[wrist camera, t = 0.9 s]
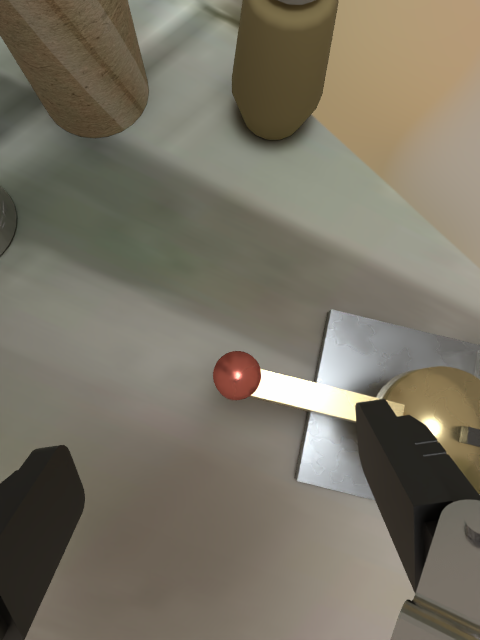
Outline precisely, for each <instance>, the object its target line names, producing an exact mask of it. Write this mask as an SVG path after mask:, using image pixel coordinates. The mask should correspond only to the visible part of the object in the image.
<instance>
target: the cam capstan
mask: <svg viewBox="0 0 480 640" xmlns="http://www.w3.org/2000/svg"><path fill="white" fill-rule="evenodd" d="M213 379H214V383H215V386H216V388H217V389H218V391H219V392H220V393H221V395H222V396H224V397H225V398H227V399H230V400H240V399H245V398H247V397H252V398H256V399H260V400H264V401H268V402H272V403H276V404H280V405H284V406H288V407H292V408H296V409H300V410H305V411H309V412H313V413H317V414H321V415H325V416H329V417H333V418H337V419H341V420H345V421H349V422H353V423H356V412H355V405H356V403H358V402H365V401H372V400H378V399H385V400H386V401H387V402H388V404H389V405H390V407H391V408H392V410H393V411H394V413H395V414H396V416H404V415H411V416H412V417H414V418H416V419H417V420H419V421H420V422H422V423H424V424H425V425H427V427H428V428H429V429H430V431H431V432H432V433H433V435H434V436H435V437H436V438H437V441H438V442H440V444H441V445H442V446H443V448H444V449H445V450H446V453H447V454H449V456H450V457H451V458H452V460H453V461H454V462H455V463H456V465H457V466H458V467H459V469H460V470H461V471H462V473H463V474H464V475H465V477H466V478H467V479H468V481H469V482H470V483H471V485H472V486H473V487H474V488H475V490H476V491H477V492H478V494H480V379H479V378H477V377H475V376H474V375H472V374H470V373H468V372H466V371H463V370H460V369H457V368H453V367H445V366H436V367H428V368H422V369H417V370H412V371H407V372H404V373H402V374H399V375H397V376H396V377H394V378H392V379H391V380H390V381H389V382H387V383H386V384H385V385H384V386H383V387H382V389H381V390H380V391H379V393H378V395H377V396H376V398H375V397H371V396H367V395H363V394H359V393H355V392H351V391H347V390H343V389H339V388H335V387H331V386H327V385H322V384H318V383H314V382H310V381H306V380H302V379H298V378H294V377H290V376H286V375H282V374H278V373H274V372H270V371H265V370H261V369H260V366H259V364H258V362H257V361H256V360H255V359H254V358H253V357H252V356H251V355H249V354H248V353H245V352H241V351H233V352H229V353H227V354H225V355H224V356H222V357H221V358H220V359H219V360H218V362H217V363H216V365H215V368H214V372H213Z"/></svg>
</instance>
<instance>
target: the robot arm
mask: <svg viewBox="0 0 480 640" xmlns="http://www.w3.org/2000/svg"><path fill="white" fill-rule="evenodd" d="M16 218H17V215H16V210H15V205H14V203H13V201H12V199H11V197H10V196H9V195H8V193H7V192H6V191H5V190H4V189H3V188H2V187H1V186H0V255H1V254H2V253H3V252H4V250H5V249H6V248H7V247H8V245H9V243H10V242H11V240H12V238H13V236H14V232H15V228H16ZM355 412H356V425H357V438H358V451H359V457H360V462H361V466H362V469H363V472H364V475H365V477H366V480H367V482H368V484H369V487H370V489H371V491H372V494H373V496H374V498H375V501H376V503H377V506H378V508H379V510H380V513H381V515H382V517H383V520H384V522H385V524H386V527H387V529H388V531H389V534H390V536H391V538H392V541H393V543H394V545H395V548H396V550H397V552H398V555H399V557H400V559H401V562H402V564H403V566H404V569H405V571H406V573H407V576H408V578H409V580H410V583H411V585H412V587H413V590H414V592H415V596H414V598H413V600H412V601H410V600H406V601H405V603H404V604H403V606H402V609H401V611H400V614H399V616H398V619H397V622H396V625H395V628H394V631H393V634H392V637H391V640H480V495H479V494H478V492H477V491H476V490H475V488H474V487H473V486H472V485H471V483H470V482H469V481H468V479H467V478H466V477H465V475H464V474H463V473H462V471H461V470H460V469H459V467H458V466H457V465H456V463H455V462H454V461H453V460H452V458H451V457H450V456H449V454H447V453H446V450H445V449H444V448H443V446H442V445H441V444H440V442H438V441H437V438H436V437H435V436H434V435H433V433H432V432H431V431H430V429H429V428H428V427H427V425H425V424H424V423H422V422H420V421H419V420H417V419H416V418H414V417H412V416H411V415H404V416H396V414H395V413H394V411H393V410H392V408H391V407H390V405H389V404H388V402H387V401H386V400H385V399H378V400H372V401H365V402H358V403H356V405H355ZM84 502H85V494H84V489H83V486H82V483H81V480H80V478H79V475H78V472H77V470H76V467H75V464H74V462H73V459H72V457H71V454H70V451H69V449H68V448H67V447H66V446H65V445H59V446H52V447H45V448H39V449H35V450H34V451H32V453H31V454H30V455H29V457H28V458H27V459H26V461H25V462H24V463H23V465H22V466H21V467H20V469H19V470H16V471H15V472H14V473H13V474H11V475H10V476H9V477H8V478H7V479H5V480H4V481H3V482H2V483H1V484H0V640H24V639H25V637H26V635H27V633H28V631H29V628H30V626H31V624H32V622H33V620H34V617H35V615H36V613H37V611H38V609H39V606H40V604H41V602H42V600H43V598H44V595H45V593H46V591H47V589H48V587H49V584H50V582H51V580H52V578H53V576H54V573H55V571H56V569H57V567H58V565H59V563H60V560H61V558H62V556H63V554H64V552H65V549H66V547H67V545H68V543H69V541H70V538H71V536H72V534H73V532H74V530H75V527H76V525H77V523H78V521H79V519H80V516H81V514H82V512H83V508H84Z"/></svg>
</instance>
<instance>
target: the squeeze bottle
mask: <svg viewBox="0 0 480 640" xmlns="http://www.w3.org/2000/svg"><path fill="white" fill-rule="evenodd" d="M337 7H338V0H243V2H242V9H241V16H240V23H239V30H238V38H237V45H236V52H235V59H234V66H233V73H232V93H233V96H234V98H235V101H236V103H237V105H238V108H239V110H240V112H241V115H242V117H243V119H244V121H245V123H246V125H247V128H248V129H250V130H251V131H252V132H253V133H254V134H255V135H257V136H259V137H262V138H265V139H267V140H280V139H283V138H286V137H289V136H291V135H292V134H293V133H294V132H295V131H296V130H297V129H299V127H300V126H301V125H302V124H303V123H304V122H305V121H306V119H307V118H308V117H309V116H310V115H311V114H312V113H313V111H314V110H315V109H316V108H317V105H318V103H319V101H320V98H321V96H322V93H323V87H324V81H325V75H326V70H327V64H328V58H329V53H330V47H331V41H332V36H333V30H334V25H335V19H336V13H337Z"/></svg>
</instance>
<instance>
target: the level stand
mask: <svg viewBox="0 0 480 640" xmlns="http://www.w3.org/2000/svg"><path fill="white" fill-rule="evenodd" d="M436 366H445V367H453V368H457V369H460V370H463V371H466V372H468V373H470V374H472V375H474V376H475V377H477V378H479V379H480V345H477V344H473V343H469V342H464V341H460V340H456V339H452V338H448V337H444V336H440V335H436V334H431V333H427V332H423V331H419V330H415V329H411V328H407V327H403V326H398V325H394V324H390V323H386V322H382V321H378V320H374V319H369V318H365V317H361V316H357V315H353V314H349V313H345V312H341V311H336V310H332V309H331V310H330V311H329V312H328V314H327V319H326V324H325V329H324V334H323V339H322V344H321V349H320V354H319V359H318V364H317V369H316V374H315V379H314V383H318V384H322V385H327V386H331V387H335V388H339V389H343V390H347V391H351V392H355V393H359V394H363V395H367V396H371V397H375V398H376V396H377V395H378V393H379V391H380V390H381V389H382V387H383V386H384V385H385V384H386V383H387V382H389V381H390V380H391V379H392V378H394V377H396V376H397V375H399V374H402V373H404V372H407V371H412V370H417V369H422V368H428V367H436ZM295 479H296V480H297V481H300V482H304V483H308V484H312V485H316V486H320V487H324V488H328V489H332V490H336V491H340V492H344V493H348V494H352V495H356V496H360V497H364V498H368V499H372V500H375V498H374V496H373V494H372V491H371V489H370V487H369V484H368V482H367V480H366V477H365V475H364V472H363V469H362V466H361V462H360V457H359V451H358V438H357V425H356V423H353V422H349V421H345V420H341V419H337V418H333V417H329V416H325V415H321V414H317V413H313V412H309V411H308V414H307V419H306V424H305V429H304V434H303V439H302V444H301V449H300V454H299V459H298V463H297V468H296V473H295Z"/></svg>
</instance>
